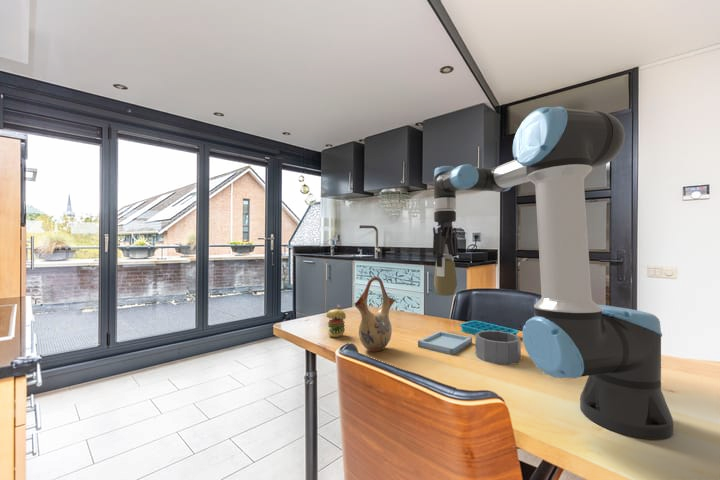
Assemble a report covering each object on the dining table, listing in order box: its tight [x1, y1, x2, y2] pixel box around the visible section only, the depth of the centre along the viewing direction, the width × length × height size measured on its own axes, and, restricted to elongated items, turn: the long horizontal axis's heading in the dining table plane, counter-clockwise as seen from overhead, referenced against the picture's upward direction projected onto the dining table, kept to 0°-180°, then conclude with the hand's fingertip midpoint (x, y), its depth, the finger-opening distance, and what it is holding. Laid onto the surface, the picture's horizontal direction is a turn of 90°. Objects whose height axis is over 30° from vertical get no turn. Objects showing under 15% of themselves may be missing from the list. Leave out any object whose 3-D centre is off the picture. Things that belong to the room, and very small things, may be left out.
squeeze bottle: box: [433, 244, 458, 297], centre depth 116 cm, size 8×8×18 cm
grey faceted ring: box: [474, 330, 522, 365], centre depth 104 cm, size 13×13×6 cm
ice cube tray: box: [458, 320, 520, 336], centre depth 129 cm, size 12×20×3 cm, turn 35°
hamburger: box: [326, 304, 347, 338], centre depth 128 cm, size 8×7×12 cm
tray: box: [417, 330, 473, 356], centre depth 116 cm, size 16×13×2 cm
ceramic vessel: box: [353, 276, 396, 352], centre depth 111 cm, size 16×9×25 cm, turn 121°
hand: (445, 275), depth 116 cm, fingers closed on squeeze bottle, 6 cm apart
